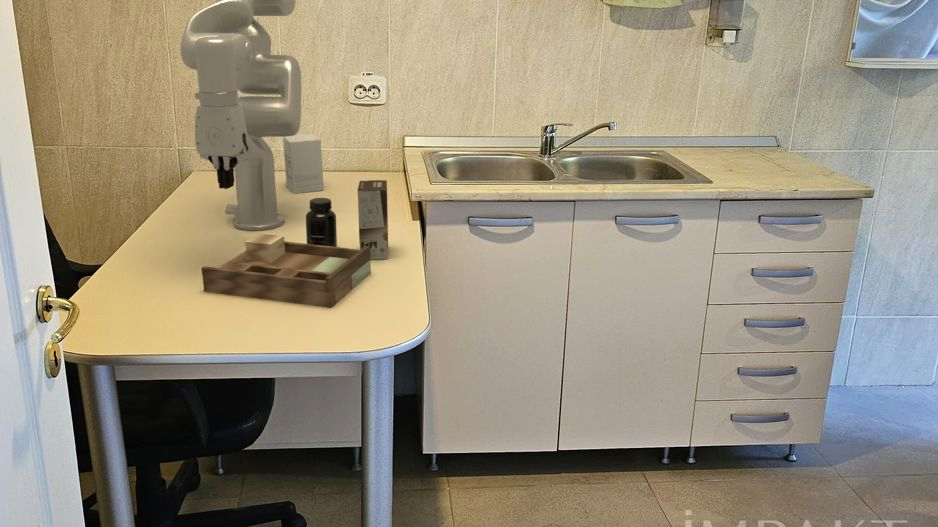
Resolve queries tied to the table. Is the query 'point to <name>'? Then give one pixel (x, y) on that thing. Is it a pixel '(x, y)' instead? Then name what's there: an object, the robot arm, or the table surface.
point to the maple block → (265, 247)
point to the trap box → (293, 275)
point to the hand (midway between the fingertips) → (226, 187)
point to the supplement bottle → (321, 223)
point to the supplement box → (303, 163)
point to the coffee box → (373, 217)
